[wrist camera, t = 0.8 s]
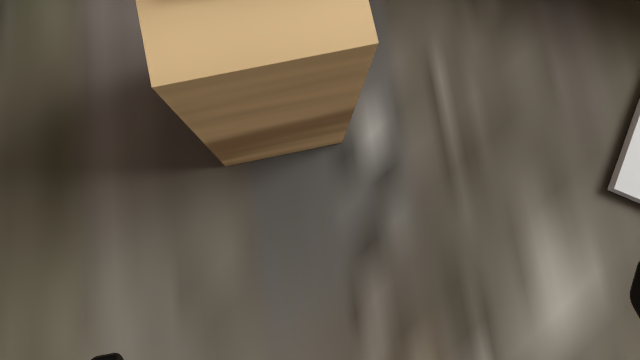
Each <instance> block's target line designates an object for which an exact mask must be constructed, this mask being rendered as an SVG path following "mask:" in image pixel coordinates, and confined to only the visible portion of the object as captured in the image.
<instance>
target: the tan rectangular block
mask: <svg viewBox="0 0 640 360" xmlns="http://www.w3.org/2000/svg"><path fill="white" fill-rule="evenodd" d="M136 4H137V10H138V15H139V21H140V26H141V32H142V37H143V43H144V48H145V54H146V59H147V65H148V70H149V76H150V81H151V87H152V88H153V90H154V91H155V92H156V93H157V94H158V95H159V96H160V97H161V98H162V99H163V100H164V101H165V102H166V103H167V104H168V106H169V107H170V108H171V109H172V110H173V111H174V112H175V113H176V114H177V115H178V116H179V117H180V118H181V119H182V120H183V122H184V123H185V124H186V125H187V126H188V127H189V128H190V129H191V130H192V131H193V132H194V133H195V134H196V135H197V137H198V138H199V139H200V140H201V141H202V142H203V143H204V144H205V145H206V146H207V147H208V148H209V149H210V150H211V151H212V153H213V154H214V155H215V156H216V157H217V158H218V159H219V160H220V161H221V162H222V163H223V164H224V165H225V166H231V165H236V164H240V163H245V162H250V161H255V160H260V159H265V158H270V157H274V156H279V155H284V154H289V153H294V152H299V151H303V150H308V149H313V148H318V147H323V146H328V145H333V144H337V143H342V141H343V138H344V136H345V133H346V130H347V128H348V125H349V122H350V119H351V117H352V114H353V111H354V109H355V106H356V103H357V100H358V98H359V95H360V92H361V90H362V87H363V84H364V81H365V79H366V76H367V73H368V71H369V68H370V65H371V62H372V60H373V57H374V54H375V52H376V49H377V46H378V44H379V42H378V38H377V34H376V30H375V26H374V21H373V17H372V13H371V9H370V5H369V0H136Z"/></svg>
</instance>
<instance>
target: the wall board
mask: <svg viewBox="0 0 640 360" xmlns="http://www.w3.org/2000/svg"><path fill="white" fill-rule="evenodd" d="M607 190H609V191H611V192H614V193H616V194H618V195H621V196H623V197H625V198H628V199H630V200H632V201H635V202H637V203H640V98H639V101H638V104H637V107H636V110H635V113H634V115H633V118H632V121H631V124H630V127H629V130H628V132H627V135H626V138H625V141H624V144H623V147H622V149H621V152H620V155H619V158H618V161H617V164H616V167H615V169H614V172H613V175H612V178H611V181H610V184H609V186H608V189H607Z"/></svg>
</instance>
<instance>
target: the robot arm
mask: <svg viewBox="0 0 640 360" xmlns="http://www.w3.org/2000/svg"><path fill="white" fill-rule="evenodd" d="M630 299H631V303H632V305H633V307H634V309H635V311H636V313H637V315H638V316H639V318H640V261H639V263H638V265H637V268H636V272H635V275H634V279H633V282H632V286H631V289H630ZM91 360H124V359H123V358H122V356H121V355H120V354H119V353H111V354H106V355H100V356H96V357H94V358H93V359H91Z"/></svg>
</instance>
